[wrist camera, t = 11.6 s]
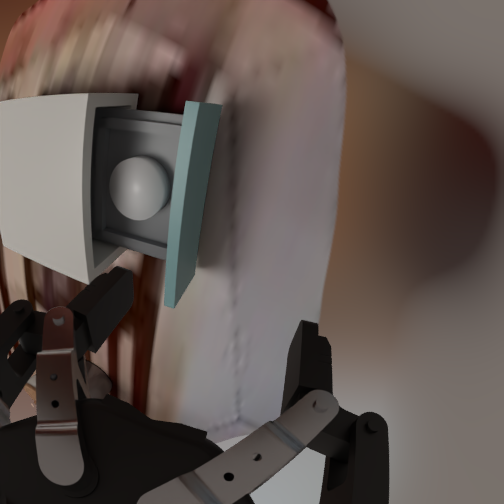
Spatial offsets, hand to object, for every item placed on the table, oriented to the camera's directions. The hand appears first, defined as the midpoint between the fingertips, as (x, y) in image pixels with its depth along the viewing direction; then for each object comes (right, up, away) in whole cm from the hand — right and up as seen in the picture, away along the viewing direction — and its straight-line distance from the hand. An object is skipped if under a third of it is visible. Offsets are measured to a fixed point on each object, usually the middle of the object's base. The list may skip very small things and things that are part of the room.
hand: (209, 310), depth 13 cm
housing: (-19, +13, +16) cm, 28 cm away
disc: (-9, +9, +13) cm, 18 cm away
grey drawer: (-10, +10, +14) cm, 20 cm away
